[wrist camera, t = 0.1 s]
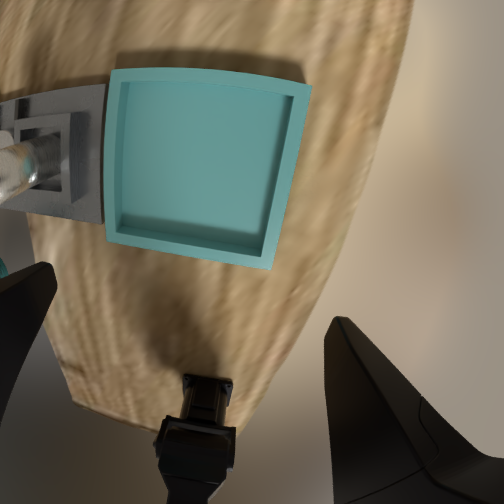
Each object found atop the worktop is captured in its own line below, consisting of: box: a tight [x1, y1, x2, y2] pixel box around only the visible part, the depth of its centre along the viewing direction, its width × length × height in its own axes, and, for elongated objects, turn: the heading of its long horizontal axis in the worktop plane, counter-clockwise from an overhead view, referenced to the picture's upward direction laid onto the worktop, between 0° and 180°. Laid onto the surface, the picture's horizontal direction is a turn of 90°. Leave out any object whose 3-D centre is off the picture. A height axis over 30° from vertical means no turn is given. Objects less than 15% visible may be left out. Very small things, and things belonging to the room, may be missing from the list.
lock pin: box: [0, 134, 61, 205], centre depth 14 cm, size 4×4×10 cm
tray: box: [104, 67, 312, 270], centre depth 19 cm, size 14×14×2 cm
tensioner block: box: [0, 84, 109, 224], centre depth 18 cm, size 12×16×3 cm
